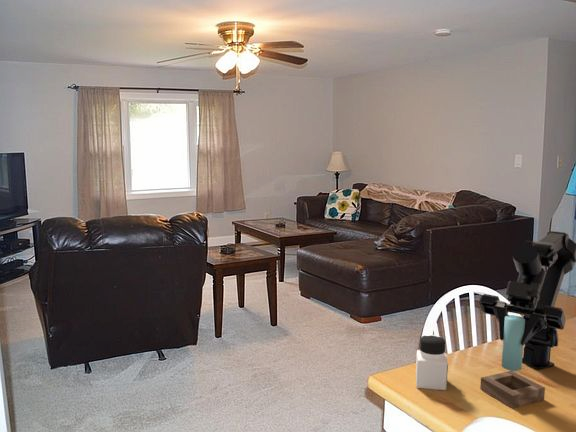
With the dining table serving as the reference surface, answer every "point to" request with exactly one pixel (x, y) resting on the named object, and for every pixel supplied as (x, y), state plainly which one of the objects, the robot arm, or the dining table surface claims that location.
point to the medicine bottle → (431, 363)
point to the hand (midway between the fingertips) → (511, 342)
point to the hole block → (513, 398)
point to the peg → (513, 342)
